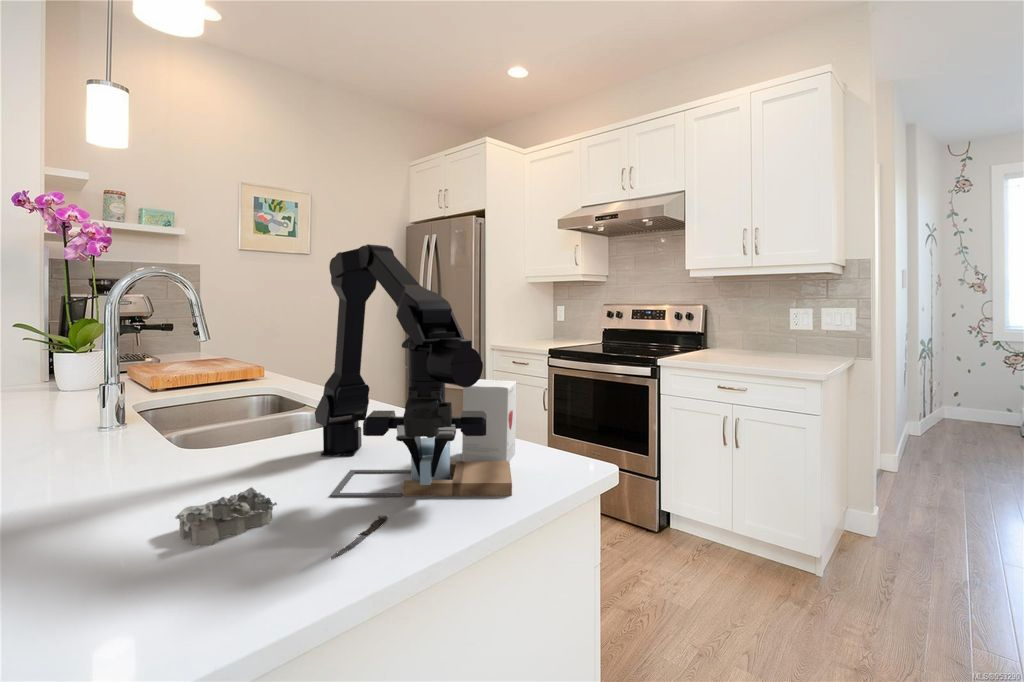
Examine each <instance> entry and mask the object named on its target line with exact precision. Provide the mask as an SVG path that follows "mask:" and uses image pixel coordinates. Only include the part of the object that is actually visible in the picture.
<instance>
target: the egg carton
mask: <svg viewBox="0 0 1024 682" xmlns="http://www.w3.org/2000/svg"><path fill="white" fill-rule="evenodd" d="M275 506H278V503H277V502H276V501H275V502H274V503H273V502H272V500H271V498H270V497H267V496H266V495H264V494H262V493H261V491H260V492H258V491H257V490H256V489H254V488H253V486H252V487H249V488H248V489H245V490H243V492H242V491H240V492H238V494H232V495H230V496H229V497H225V496H221V497H220V498H218V499H217V500H213V501H209V502H207V503H205V504H201V505H189V506H187V507H184V508H183V509H182V510H181V511H180V512H179V513H178V514H177V515H176V516H175V520H178V522H179V536H180V539H182V540H187V539H191V541H192V546H194V547H195V548H197V547H200V546H213V545H216V544H219V541H220V539H222V538H225V537H229V535H230V536H241V535H242V534H244V533H245V532H246V530H247V529H249V528H253V527H266V526H267V525H269V524H270V521H272V520H273V510H274V507H275Z"/></svg>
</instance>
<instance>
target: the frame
mask: <svg viewBox="0 0 1024 682" xmlns="http://www.w3.org/2000/svg"><path fill="white" fill-rule="evenodd" d="M354 473H355V474H411V469H350V470H349V471H348V472H347V474H346V475H345V476H344V478H343V479H342V480H341V481H340V482H339V484H338V485H337V486H336V487H335V488H334V489H333V491H331V493H330V495H329V498H401V497H402V496H403V492H342V490H343V489H344V488H345V487H344V486H347V484H348V483H349V482H350V480H351V479H352V478H353V476H355V474H354ZM351 477H352V478H351ZM340 491H341V492H340Z"/></svg>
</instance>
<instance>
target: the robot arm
mask: <svg viewBox="0 0 1024 682" xmlns="http://www.w3.org/2000/svg"><path fill="white" fill-rule="evenodd" d="M328 267H329V268H328V269H329V274H330V279H331V280H330V283H331V286H332V288H333V290H334V292H335V293H336V295H337V297H338V309H337V311H338V314H337V327H336V338H335V339H336V340H335V342H336V343H335V356H334V370H333V373H332V374H331V375H330V376H329V378H328V379H327V380H326V382H325V383H324V388H323V394H322V397H321V399H320V400H319V402H318V404H317V406H316V408H315V411H314V418H315V423H316V424H318V425H321V426H322V433H323V434H322V437H323V439H322V442H323V443H322V445H323V446H322V447H323V450H322V451H320V456H330V457H331V456H336V457H337V456H338V457H339V456H342V457H343V456H345V457H346V456H349V457H351V456H355V455H356V453H357V452H358V451H359V450H360V449H361V448H362V436H365V437H383V436H385V434H387V433H388V432H389V431H390V430H393V429H395V430H396V432H397V433H396V434H397V435H396V437H395V439H396V441H397V442H402V443H404V445H405V446H406V448H407V449H408V452H409V453H410V457H411V456H412V458H413V461H414V464H415V467H416V470H417V472H418V475H419V477H420V462H421V459H422V450H421V438H422V437H423V438H435V444H434V453H433V461H432V477H434V476H435V473H436V469H437V466H438V463H439V460H440V456H441V454H442V451H443V449H444V447H445V445H446V443H447V441H450V442H453V441H454V440H455V438H456V434H457V429H458V430H460V432H461V433H462V435H463V434H464V435H465V436H485V435H486V414H485V412H484V411H463V410H462V412H461V415H460V416H453V405H452V402H449V401H448V402H446V384H448V385H450V386H451V385H452V386H456V387H461V388H463V387H470V386H473V385H474V384H475V383H476V382H477V381H478V380H479V379H480V378H481V376H482V374H483V368H484V364H483V363H484V362H483V361H482V358H481V355H480V353H479V352H478V351H477V350H476V349H474V348H472V347H473V346H472V344H473V340H472V339H470V338H469V339H468V338H465V337H464V334H463V330H462V329H461V326H459V325H460V324H459V323H458V321H457V319H456V316H455V313H454V311H453V308H452V306H451V304H450V303H449V301H448V300H447V299H445V298H444V297H443V296H441V294H439V293H437V292H435V291H432V290H430V289H428V288H425V287H423V286H422V285H421V284H420V283H419V282H418V281H417V279H416V278H414V276H413V275H412V274H411V273H410V271H409V270H407V268H406V267H405V266H404V265H403V264H402V263H401V262H400V260H399V259H398V258H397V257H396V256H395V253H394V251H393V249H392V248H391V247H389V246H387V245H379V244H366V245H361V246H360V247H358V248H355V249H351V250H347V251H342V252H341V251H340V252H338V253H336V255H335V256H334V257H332V258H331V259H330V261H329V266H328ZM377 283H378V284H380V286H381V287H382V288H383V290H384V291H385V292H386V293H387V295H389V297H390V298H391V300H392V301H393V302H394V304H395V305H396V307H397V308H396V315H395V316H396V319H397V320H398V322H399V324H400V326H401V328H402V330H403V332H404V333H405V334H406V335H407V336H408V337H407V339H405V340H404V341H402V343H401V348H402V349H407V351H408V352H407V356H408V357H407V361H408V362H407V370H408V371H407V373H408V375H407V376H408V377H407V378H408V379H407V380H408V383H407V384H408V385H407V386H408V388H407V389H408V394H407V395H408V397H407V400H406V403H405V406H404V413H403V416H396V412H395V410H372V411H371V412H370V413H369V414H368V415H367V412H368V407H369V404H370V403H369V402H370V399H369V393H370V386H369V384H367V383H366V381H364V379H363V376H362V375H361V369H362V366H361V365H362V356H363V341H364V330H365V318H366V317H365V316H366V304H367V301H368V300H369V299H370V297H371V296H372V294H373V293H374V292H375V290H376V289H377V288H376V287H377ZM361 421H363V423H362V427H361V426H359V422H361ZM362 434H363V435H362Z"/></svg>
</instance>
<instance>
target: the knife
mask: <svg viewBox="0 0 1024 682" xmlns="http://www.w3.org/2000/svg"><path fill="white" fill-rule="evenodd" d="M387 518H388V516H387V515H385V514H384V515H377V519H375V520H374V521H372V523H371V524H370V526H369V527H368V528H366V530H364V531H362V532H359V533H360V534H358V535H359V536H357V537H355V540H354V541H353V540H352V541H351V542H350V543H349V544H347V545H345V546H344V547H345V548H344V547H342V548H341V549H339V550H340V551H339V550H337V551H336V552H335V553H334V554H332V555H331V556H330V559H331V560H335V559H337V558H339V557H340V556H342V555H344V554H346V553H348V552H349V551H351V550H354V548H356V547H357V546H358V545H359V544H360V543H362V542H363V541H364V540H366V539H367V538H368V537H369V536H370V535H371V534H373V533H374V532H376V531H377V530H378V529H380V528H381V527H382V526H383V525H384V524H385V523H386V521H387V520H388V519H387ZM382 524H383V525H382ZM381 525H382V526H381ZM380 526H381V527H380ZM366 537H367V538H366ZM356 545H357V546H356ZM338 551H339V552H338ZM347 551H348V552H347ZM337 552H338V553H337Z"/></svg>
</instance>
